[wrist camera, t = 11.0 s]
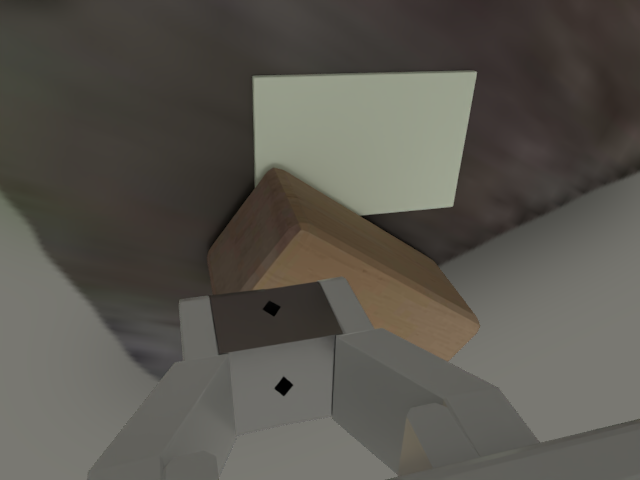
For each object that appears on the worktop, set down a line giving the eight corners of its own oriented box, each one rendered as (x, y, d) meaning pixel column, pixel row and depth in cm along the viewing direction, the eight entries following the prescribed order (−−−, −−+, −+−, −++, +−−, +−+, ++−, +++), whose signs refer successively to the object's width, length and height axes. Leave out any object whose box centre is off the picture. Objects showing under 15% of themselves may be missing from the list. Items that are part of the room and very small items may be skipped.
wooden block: (200, 252, 44) (370, 329, 55) (213, 335, 36) (409, 406, 47) (270, 158, 41) (435, 258, 52) (301, 225, 33) (489, 328, 44)
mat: (473, 70, 43) (477, 72, 43) (449, 203, 49) (452, 206, 49) (252, 75, 39) (253, 77, 38) (255, 222, 45) (256, 225, 44)
